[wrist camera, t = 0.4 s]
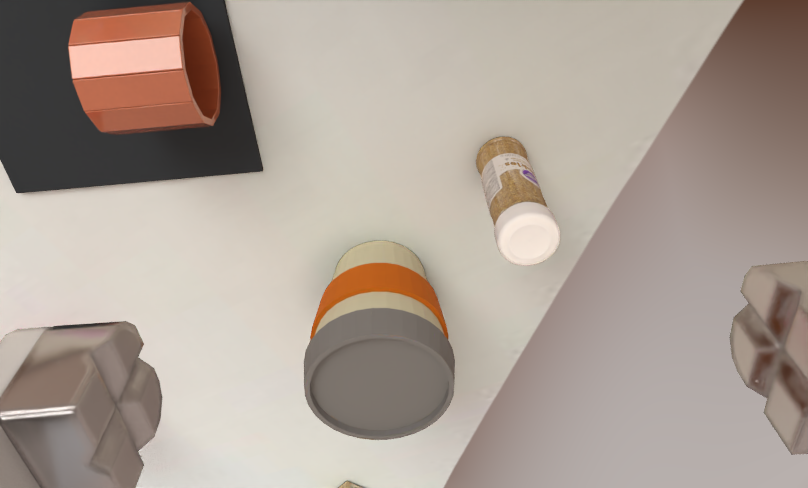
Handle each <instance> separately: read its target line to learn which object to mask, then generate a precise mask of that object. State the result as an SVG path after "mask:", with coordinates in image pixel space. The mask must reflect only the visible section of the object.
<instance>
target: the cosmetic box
mask: <svg viewBox="0 0 808 488" xmlns="http://www.w3.org/2000/svg"><path fill="white" fill-rule="evenodd" d="M339 488H362V487H360V486H357V485H355V484H353V483H350V482H348V481H346V482H345V483H344V484H343V485H341V486H340V487H339Z"/></svg>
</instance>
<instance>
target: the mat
mask: <svg viewBox="0 0 808 488" xmlns="http://www.w3.org/2000/svg"><path fill="white" fill-rule="evenodd" d="M184 2H191V3H192V4H193V5H194V6H195V7H196V8H198V9H199V10H200V11H201V13H202V15H203V17H204V20H205V22H206V24H207V26H208V29H209V31H210V33H211V36H212V40H213V44H214V48H215V52H216V56H217V60H218V62H217V63H218V67H219V76H220V86H221V100H220V113H219V116H218V118H217V120H216V122H215V123H214V125H213V126H209V127H198V128H187V129H176V130H165V131H154V132H143V133H132V134H121V135H113V134H108V133H104V132H101V131H99V129H98V128H97V127H96V126H95V124H94V123H93V122H92V121H91V119H90V118H89V117H88V116H87V115H86V113H85V111H84V110H83V107H82V104H81V102H80V99H79V97H78V94H77V91H76V89H75V86H74V84H73V79H72V74H71V66H70V58H69V50H68V46H69V45H68V43H69V39H70V34H71V29H72V25H73V21H74V20H75V19H76V18H78V17H79V16H81V15H82V14H84V13H85V12H89V11H100V10H110V9H121V8H131V7H142V6H152V5H163V4H174V3H184ZM0 160H1V162H2V164H3V166H4V168H5V170H6V172H7V174H8V176H9V178H10V181H11V183H12V185H13V187H14V189H15V191H16V193H25V192H37V191H48V190H59V189H70V188H81V187H92V186H104V185H115V184H126V183H137V182H148V181H159V180H171V179H182V178H193V177H204V176H215V175H226V174H238V173H249V172H260V171H263V167H262V162H261V158H260V154H259V149H258V145H257V141H256V136H255V132H254V128H253V123H252V119H251V115H250V110H249V106H248V102H247V97H246V93H245V89H244V84H243V80H242V75H241V71H240V67H239V62H238V58H237V54H236V49H235V45H234V41H233V36H232V32H231V28H230V23H229V19H228V15H227V10H226V6H225V2H224V0H0Z"/></svg>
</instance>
